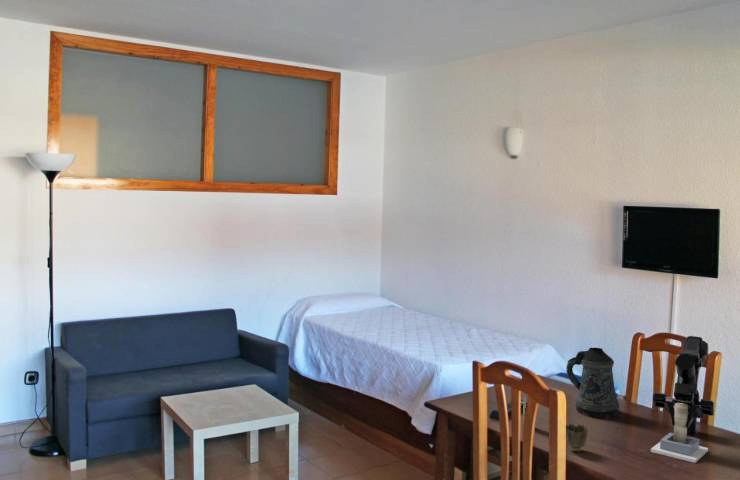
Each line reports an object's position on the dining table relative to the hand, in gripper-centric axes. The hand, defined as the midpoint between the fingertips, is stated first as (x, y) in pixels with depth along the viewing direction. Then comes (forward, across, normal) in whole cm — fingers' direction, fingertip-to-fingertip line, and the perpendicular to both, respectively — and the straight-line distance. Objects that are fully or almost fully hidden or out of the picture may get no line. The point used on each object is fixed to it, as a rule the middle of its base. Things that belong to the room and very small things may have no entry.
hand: (680, 426), depth 230 cm
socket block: (+5, 0, +7) cm, 9 cm away
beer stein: (-14, -35, +27) cm, 46 cm away
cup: (+18, -30, -5) cm, 35 cm away
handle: (+9, -50, +4) cm, 51 cm away
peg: (+4, 0, +6) cm, 7 cm away
